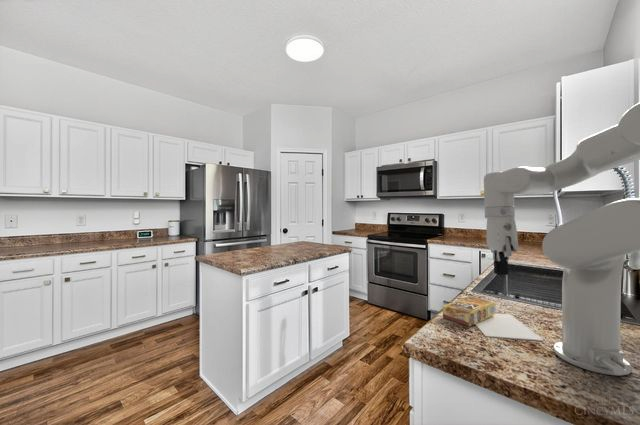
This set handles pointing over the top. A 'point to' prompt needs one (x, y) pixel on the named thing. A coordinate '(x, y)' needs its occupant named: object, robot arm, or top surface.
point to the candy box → (469, 310)
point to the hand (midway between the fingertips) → (501, 274)
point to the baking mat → (506, 328)
